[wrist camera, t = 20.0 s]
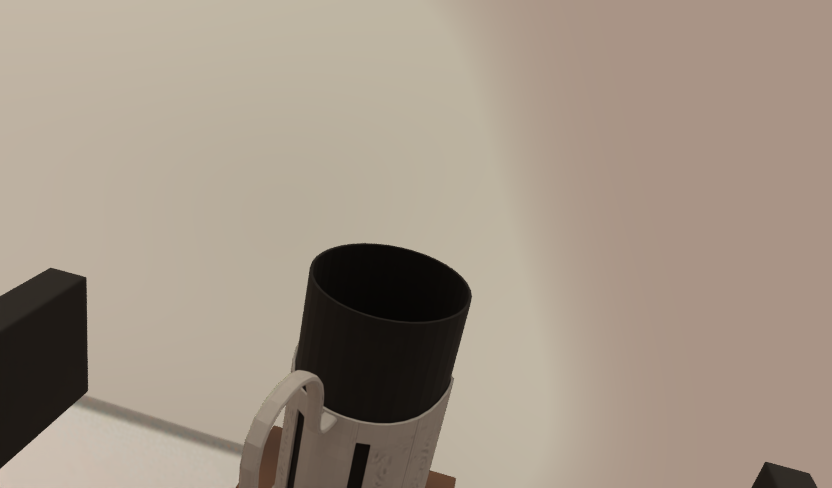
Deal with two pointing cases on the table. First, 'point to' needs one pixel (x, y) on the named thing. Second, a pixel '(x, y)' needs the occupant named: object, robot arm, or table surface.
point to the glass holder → (365, 372)
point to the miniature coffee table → (437, 484)
